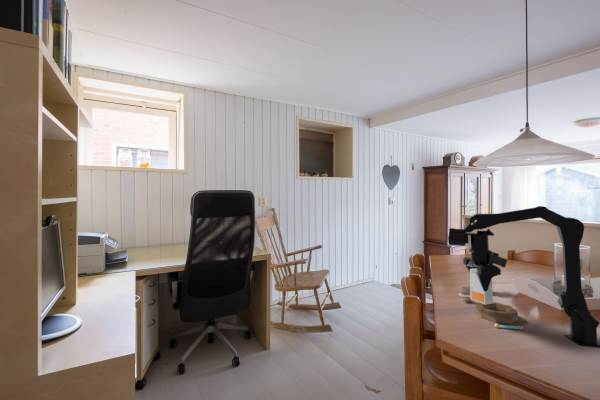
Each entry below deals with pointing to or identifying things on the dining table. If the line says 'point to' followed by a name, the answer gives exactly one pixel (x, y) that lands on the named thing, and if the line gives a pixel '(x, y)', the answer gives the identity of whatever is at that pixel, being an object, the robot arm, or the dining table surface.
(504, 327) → the teal thin rod
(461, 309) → the dining table surface
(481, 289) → the skincare box
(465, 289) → the architectural model
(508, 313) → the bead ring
